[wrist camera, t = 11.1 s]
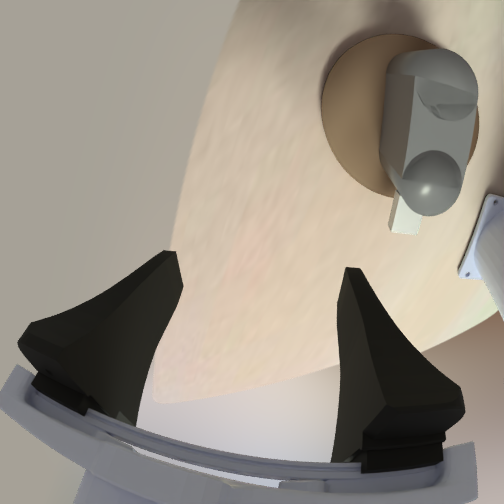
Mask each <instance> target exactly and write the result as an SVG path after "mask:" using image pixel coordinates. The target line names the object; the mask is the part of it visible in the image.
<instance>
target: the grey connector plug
mask: <svg viewBox="0 0 504 504" xmlns="http://www.w3.org/2000/svg"><path fill="white" fill-rule="evenodd" d="M477 101H478V85H477V80H476V77H475V75H474V72H473V70H472V69H471V67H470V66H469V64H468V63H467V62H466V61H465V60H464V59H463V58H462V57H461V56H460V55H458V54H457V53H455V52H453V51H450V50H447V49H429V50H420V51H412V52H404V53H400V54H398V55H396V56H395V57H393V58H392V59H391V61H390V62H389V64H388V66H387V70H386V85H385V100H384V112H383V122H382V131H381V140H380V148H379V159H380V163H381V165H382V167H383V169H384V170H385V172H386V173H387V175H388V176H389V178H390V179H391V181H392V182H393V184H394V185H395V187H396V188H397V189H396V190H395V195H394V200H393V205H392V209H391V214H390V218H389V222H388V226H389V228H390V231H391V232H394V233H403V234H411V235H417V234H418V230H419V227H420V224H421V220H422V217H423V216H435V215H439V214H441V213H443V212H445V211H447V210H448V209H449V208H450V207H451V206H452V205H453V204H454V203H455V201H456V200H457V198H458V196H459V194H460V191H461V187H462V183H463V179H464V175H465V171H466V167H467V162H468V158H469V153H470V148H471V142H472V137H473V131H474V124H475V117H476V110H477Z"/></svg>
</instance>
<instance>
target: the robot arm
mask: <svg viewBox="0 0 504 504" xmlns="http://www.w3.org/2000/svg"><path fill="white" fill-rule="evenodd" d="M495 200H496V202H495V203H494V201H495ZM467 272H468V273H467ZM466 273H467V274H466ZM458 276H459V277H460V278H464V279H478V280H483V281H484V283H485V284H486V286H487V288H488V290H489V292H490V294H491V296H492V298H493V300H494V302H495V304H496V306H497V308H498V310H499V312H500V314H501V316H502V318H503V321H504V197H501V196H498V195H494V194H488V195H487V196H486V198H485V201H484V204H483V207H482V211H481V214H480V217H479V220H478V222H477V225H476V228H475V231H474V234H473V236H472V239H471V242H470V244H469V247H468V249H467V252H466V254H465V256H464V259H463V261H462V263H461V266H460V268H459V270H458ZM183 287H184V286H183V282H182V278H181V273H180V268H179V264H178V259H177V254H176V251H165V250H163V251H162V252H160V253H159V254H157V255H156V256H155V257H153V258H152V259H150V260H149V261H147V262H146V263H145V264H143V265H142V266H141V267H139V268H138V269H137V270H135V271H134V272H133V273H131V274H130V275H129V276H127V277H125V278H124V279H123V280H121V281H120V282H118V283H117V284H115V285H114V286H112V287H111V288H109V289H108V290H106V291H104V292H103V293H101V294H99V295H98V296H96V297H94V298H92V299H90V300H89V301H86V302H84V303H82V304H80V305H78V306H76V307H74V308H72V309H69V310H67V311H65V312H62V313H60V314H57V315H54V316H51V317H48V318H45V319H42V320H38V321H35V322H31V323H30V325H29V326H28V327H27V329H26V330H25V332H24V333H23V335H22V336H21V338H20V339H19V340H18V342H17V343H18V347H19V349H20V351H21V352H22V353H23V354H24V356H25V357H26V358H27V359H28V361H29V362H30V363H31V364H32V365H33V366H34V368H35V369H36V370H37V371H38V373H37V374H36V376H35V375H33V374H32V373H31V372H30V371H28V370H26V369H25V368H23V367H21V366H20V365H16V366H15V368H14V370H13V371H12V373H11V374H10V376H9V378H8V379H7V381H6V383H5V384H4V386H3V388H2V390H1V391H0V409H1V410H3V411H4V412H5V413H6V414H7V415H8V416H10V417H11V418H12V419H13V420H15V421H16V422H17V423H18V424H19V425H21V426H22V427H23V428H24V429H26V430H27V431H28V432H30V433H31V434H32V435H34V436H35V437H36V438H38V439H39V440H41V441H42V442H43V443H45V444H46V445H48V446H49V447H51V448H52V449H54V450H55V451H57V452H58V453H60V454H62V455H63V456H65V457H67V458H68V459H70V460H71V461H73V462H75V463H76V464H78V465H80V466H82V467H83V468H85V469H86V471H85V474H84V476H83V479H82V481H81V484H80V486H79V489H78V492H77V494H76V497H75V500H74V502H73V504H465V503H468V502H471V501H473V500H476V499H477V498H478V485H477V467H476V457H475V456H476V455H475V447H474V442H468V443H464V444H460V445H455V446H451V447H447V448H445V449H443V447H442V442H444V441H445V440H446V435H445V431H447V430H448V429H449V428H451V427H452V426H453V425H454V424H456V423H457V422H458V421H459V420H460V419H461V418H462V417H463V415H464V414H465V405H464V400H463V395H462V391H461V388H460V387H459V386H458V385H457V384H456V383H454V382H453V381H452V380H450V379H449V378H448V377H446V376H445V375H444V374H443V373H441V372H440V371H439V370H438V369H437V368H436V367H434V366H433V365H432V364H431V363H430V362H429V361H428V360H427V359H426V358H425V357H424V356H423V355H422V354H421V353H420V352H419V351H418V350H417V349H416V348H415V347H414V346H413V345H412V344H411V343H410V341H409V340H408V339H407V338H406V337H405V336H404V334H403V333H402V332H401V331H400V329H399V328H398V327H397V326H396V324H395V323H394V321H393V320H392V319H391V317H390V316H389V314H388V313H387V311H386V310H385V308H384V307H383V305H382V304H381V302H380V301H379V299H378V297H377V296H376V294H375V293H374V291H373V289H372V287H371V286H370V284H369V282H368V281H367V279H366V277H365V275H364V274H363V272H362V270H361V269H360V268H351V267H346V268H345V272H344V277H343V281H342V285H341V290H340V294H339V298H338V302H337V333H338V345H339V358H340V394H339V408H338V418H337V425H336V433H335V440H334V446H333V452H332V458H331V462H330V463H319V462H299V461H287V460H277V459H268V458H260V457H253V456H247V455H240V454H235V453H229V452H224V451H219V450H215V449H210V448H206V447H201V446H197V445H193V444H189V443H185V442H182V441H178V440H174V439H171V438H168V437H164V436H161V435H158V434H154V433H152V432H149V431H146V430H143V429H140V428H137V427H136V422H137V417H138V411H139V406H140V401H141V397H142V393H143V389H144V385H145V381H146V378H147V374H148V371H149V368H150V365H151V362H152V359H153V356H154V353H155V350H156V348H157V346H158V343H159V341H160V339H161V337H162V335H163V333H164V331H165V329H166V327H167V325H168V323H169V321H170V319H171V317H172V315H173V313H174V311H175V309H176V307H177V304H178V302H179V299H180V296H181V293H182V290H183ZM120 440H121V441H120ZM122 441H123V442H122ZM124 442H126V443H128V444H131V445H133V446H136V447H139V448H141V449H144V450H147V451H150V452H153V453H156V454H159V455H162V456H165V457H168V458H171V459H175V460H178V461H182V462H185V463H189V464H193V465H197V466H201V467H205V468H210V469H214V470H218V471H223V472H228V473H234V474H240V475H246V476H252V477H259V478H267V479H275V480H286V481H281V482H280V483H279V487H278V488H274V487H267V486H261V485H256V484H250V483H245V482H240V481H235V480H230V479H227V478H222V477H218V476H214V475H210V474H206V473H202V472H198V471H195V470H191V469H187V468H184V467H181V466H177V465H173V464H170V463H167V462H164V461H161V460H157V459H154V458H151V457H148V456H145V455H142V454H140V453H138V452H137V451H135V450H134V449H133V448H132V446H130V445H128V444H126V443H124Z"/></svg>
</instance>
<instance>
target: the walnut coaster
mask: <svg viewBox="0 0 504 504" xmlns="http://www.w3.org/2000/svg"><path fill="white" fill-rule="evenodd" d="M429 49H439V48H438V47H436V46H435V45H433V44H431V43H429V42H427V41H425V40H422V39H419V38H416V37H413V36H408V35H402V34H387V35H379V36H375V37H372V38H369V39H366V40H364V41H362V42H360V43H358V44H356V45H355V46H353V47H352V48H350V49H349V50H348V51H346V52H345V53H344V54H343V55H342V56H341V57H340V58H339V60H338V61H337V62H336V63H335V64H334V66H333V68H332V70H331V71H330V73H329V75H328V78H327V80H326V83H325V86H324V90H323V94H322V104H321V108H322V121H323V127H324V130H325V134H326V137H327V140H328V143H329V145H330V147H331V150H332V152H333V153H334V155H335V157H336V159H337V160H338V162H339V163H340V164H341V166H342V167H343V168H344V169H345V170H346V172H347V173H348V174H349V175H350V176H351V177H352V178H354V179H355V180H356V181H357V182H358V183H360V184H361V185H363V186H365V187H366V188H368V189H370V190H372V191H374V192H376V193H378V194H381V195H384V196H387V197H392V198H394V195H395V190H396V189H397V188H396V187H395V185H394V184H393V182H392V181H391V179H390V178H389V176H388V175H387V173H386V172H385V170H384V169H383V167H382V165H381V163H380V159H379V148H380V140H381V131H382V122H383V112H384V100H385V85H386V70H387V66H388V64H389V62H390V61H391V59H392V58H393V57H395V56H396V55H398V54H400V53H404V52H412V51H420V50H429ZM478 133H479V114H478V106H477V110H476V117H475V124H474V131H473V137H472V142H471V148H470V153H469V158H468V162H467V165H468V163H469V161H470V159H471V157H472V155H473V153H474V150H475V147H476V143H477V139H478Z"/></svg>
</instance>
